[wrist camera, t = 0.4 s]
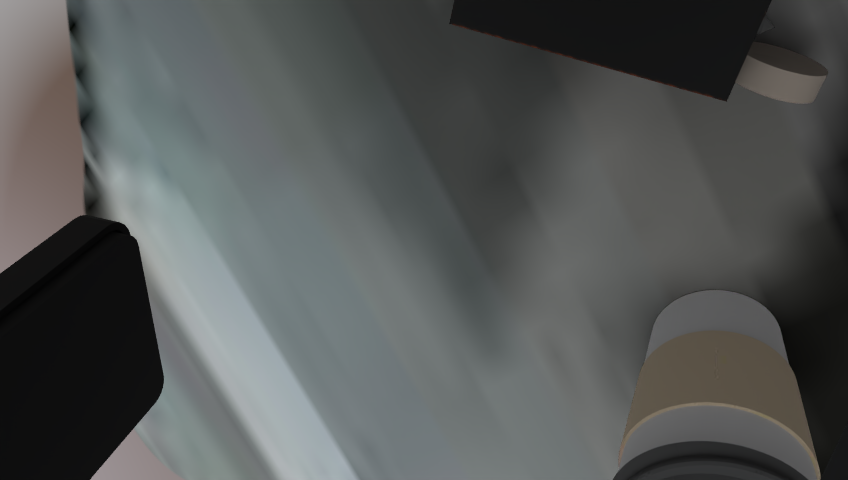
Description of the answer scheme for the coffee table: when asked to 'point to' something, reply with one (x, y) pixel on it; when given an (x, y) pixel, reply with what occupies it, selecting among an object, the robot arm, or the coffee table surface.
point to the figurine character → (657, 41)
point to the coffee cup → (716, 398)
